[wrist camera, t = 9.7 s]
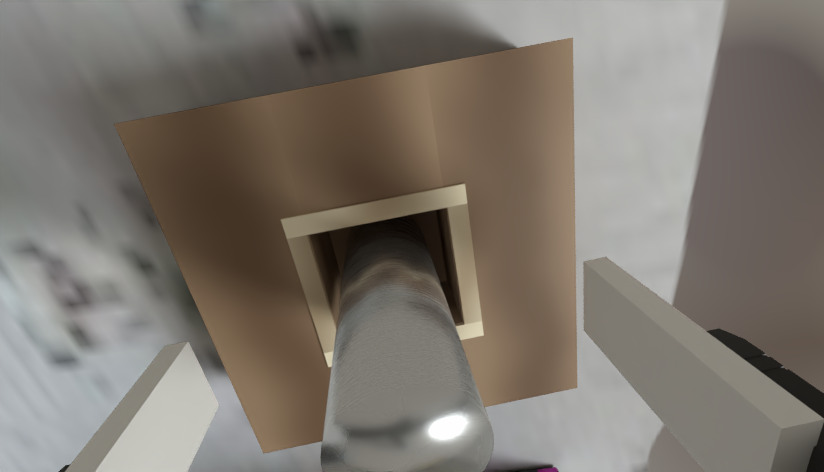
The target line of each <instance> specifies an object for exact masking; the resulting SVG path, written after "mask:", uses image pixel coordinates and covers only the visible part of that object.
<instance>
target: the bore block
mask: <svg viewBox="0 0 824 472" xmlns="http://www.w3.org/2000/svg"><path fill="white" fill-rule="evenodd" d="M114 125H115V127H116V129H117V131H118V134H119V136H120V138H121V140H122V142H123V145H124V147H125V149H126V151H127V154H128V156H129V158H130V160H131V162H132V165H133V167H134V169H135V171H136V173H137V176H138V178H139V180H140V182H141V184H142V187H143V189H144V191H145V193H146V195H147V198H148V200H149V202H150V204H151V206H152V209H153V211H154V213H155V215H156V217H157V220H158V222H159V224H160V226H161V228H162V231H163V233H164V235H165V237H166V239H167V242H168V244H169V246H170V248H171V250H172V253H173V255H174V257H175V259H176V261H177V264H178V266H179V268H180V270H181V272H182V275H183V277H184V279H185V281H186V284H187V286H188V288H189V290H190V292H191V295H192V297H193V299H194V301H195V303H196V306H197V308H198V310H199V312H200V314H201V317H202V319H203V321H204V323H205V325H206V328H207V330H208V332H209V334H210V336H211V339H212V341H213V343H214V345H215V347H216V350H217V352H218V354H219V356H220V358H221V361H222V363H223V365H224V367H225V369H226V372H227V374H228V376H229V378H230V380H231V383H232V385H233V387H234V389H235V391H236V394H237V396H238V398H239V400H240V402H241V405H242V407H243V409H244V411H245V414H246V416H247V418H248V420H249V422H250V425H251V427H252V429H253V431H254V433H255V436H256V438H257V440H258V442H259V444H260V447H261V449H262V451H263V453H268V452H272V451H277V450H282V449H287V448H292V447H296V446H301V445H306V444H311V443H315V442H320V441H322V439H323V431H324V423H325V415H326V407H327V399H328V391H329V383H330V375H331V367H332V359H333V351H334V343H335V335H336V327H337V319H338V311H339V303H340V295H341V287H342V279H343V271H344V263H345V255H346V247H347V239H348V235H349V233H350V231H351V229H352V227H353V226H357V225H362V224H367V223H372V222H377V221H383V220H388V219H393V218H398V217H403V216H409V217H411V218H412V219H413V220H414V221H415V222H416V223H417V224H418V226H419V227H420V229H421V231H422V234H423V236H424V239H425V242H426V245H427V248H428V250H429V253H430V256H431V259H432V262H433V264H434V267H435V270H436V273H437V276H438V278H439V281H440V284H441V287H442V290H443V292H444V295H445V298H446V301H447V304H448V306H449V309H450V312H451V315H452V318H453V320H454V323H455V326H456V329H457V332H458V334H459V337H460V340H461V343H462V346H463V348H464V351H465V354H466V357H467V360H468V362H469V365H470V368H471V371H472V374H473V376H474V379H475V382H476V385H477V388H478V390H479V393H480V396H481V399H482V402H483V404H484V407H487V406H492V405H497V404H502V403H506V402H511V401H516V400H521V399H526V398H530V397H535V396H540V395H545V394H549V393H554V392H559V391H564V390H569V389H573V388H577V328H576V251H575V174H574V96H573V38H568V39H563V40H557V41H552V42H547V43H541V44H536V45H531V46H525V47H520V48H515V49H509V50H504V51H499V52H494V53H488V54H483V55H478V56H472V57H467V58H462V59H456V60H451V61H446V62H440V63H435V64H430V65H424V66H419V67H414V68H408V69H403V70H398V71H392V72H387V73H382V74H376V75H371V76H366V77H360V78H355V79H350V80H344V81H339V82H334V83H329V84H323V85H318V86H313V87H307V88H302V89H297V90H291V91H286V92H281V93H275V94H270V95H265V96H259V97H254V98H249V99H243V100H238V101H233V102H227V103H222V104H217V105H211V106H206V107H201V108H195V109H190V110H185V111H180V112H174V113H169V114H164V115H158V116H153V117H148V118H142V119H137V120H132V121H126V122H121V123H116V124H114Z"/></svg>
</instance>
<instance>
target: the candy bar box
mask: <svg viewBox="0 0 824 472" xmlns="http://www.w3.org/2000/svg"><path fill="white" fill-rule="evenodd" d="M520 472H559V471H558V469H557V468H555V467H554V468H546V469H537V470H529V471H520Z"/></svg>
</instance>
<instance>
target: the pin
mask: <svg viewBox="0 0 824 472" xmlns="http://www.w3.org/2000/svg"><path fill="white" fill-rule="evenodd" d="M493 445H494V437H493V431H492V427H491V424H490V421H489V418H488V416H487V413H486V410H485V407H484V404H483V402H482V399H481V396H480V393H479V390H478V388H477V385H476V382H475V379H474V376H473V374H472V371H471V368H470V365H469V362H468V360H467V357H466V354H465V351H464V348H463V346H462V343H461V340H460V337H459V334H458V332H457V329H456V326H455V323H454V320H453V318H452V315H451V312H450V309H449V306H448V304H447V301H446V298H445V295H444V292H443V290H442V287H441V284H440V281H439V278H438V276H437V273H436V270H435V267H434V264H433V262H432V259H431V256H430V253H429V250H428V248H427V245H426V242H425V239H424V236H423V234H422V231H421V229H420V227H419V226H418V224H417V223H416V222H415V221H414V220H413V219H412V218H411V217H409V216H403V217H398V218H393V219H388V220H383V221H377V222H372V223H367V224H362V225H357V226H353V227H352V229H351V231H350V233H349V235H348V239H347V247H346V255H345V263H344V271H343V279H342V287H341V295H340V303H339V311H338V319H337V327H336V335H335V343H334V351H333V359H332V367H331V375H330V383H329V391H328V399H327V407H326V415H325V423H324V431H323V439H322V447H321V466H322V469H323V472H483V471H484V470H485V468H486V467H487V465H488V462H489V460H490V458H491V455H492V452H493Z"/></svg>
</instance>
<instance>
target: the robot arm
mask: <svg viewBox="0 0 824 472" xmlns="http://www.w3.org/2000/svg"><path fill="white" fill-rule="evenodd" d="M584 331H585V332H586V333H587V334H588V336H589V337H590V338H591V339H592V340H593V341H594V343H595V344H596V345H597V346H598V347H599V348H600V350H601V351H602V352H603V353H604V354H605V355H606V357H607V358H608V359H609V360H610V361H611V362H612V364H613V365H614V366H615V367H616V368H617V369H618V371H619V372H620V373H621V374H622V375H623V376H624V378H625V379H626V380H627V381H628V382H629V383H630V385H631V386H632V387H633V388H634V389H635V390H636V392H637V393H638V394H639V395H640V396H641V397H642V399H643V400H644V401H645V402H646V403H647V404H648V406H649V407H650V408H651V409H652V410H653V411H654V413H655V414H656V415H657V416H658V417H659V418H660V420H661V421H662V422H663V423H664V424H665V425H666V427H667V428H668V429H669V430H670V431H671V432H672V434H673V435H674V436H675V437H676V438H677V439H678V441H679V442H680V443H681V444H682V445H683V446H684V447H685V449H686V450H687V451H688V452H689V453H690V455H691V456H692V457H693V458H694V459H695V460H696V461H697V463H699V465H700V466H701V467H702V469H703V470H704V471H705V472H824V393H822V392H820V391H819V390H818V389H816V388H815V387H814V386H812V385H811V384H809V383H808V382H806V381H805V380H803V379H802V378H800V377H799V376H798V375H796V374H795V373H793V372H792V371H790V370H789V369H788V370H786V369H785V368H784V366H783V365H781V364H780V363H778V362H777V361H776V360H774V359H773V358H771V357H767V356H766V354H765V353H764V352H763V351H761V350H760V349H758V348H757V347H755V346H754V345H752V344H751V343H749V342H748V341H746V340H745V339H743V338H741V337H738V336H736V335H733V334H731V333H729V332H726V331H724V330H721V329H715V330H710V331H705V330H704V329H702V328H701V327H699V326H698V325H697V324H695V323H694V322H693V321H692V320H690V319H689V318H688V317H686V316H685V315H684V314H682V313H681V312H680V311H678V310H677V309H675V308H674V307H673V306H671V305H670V304H669V303H667V302H666V301H665V300H663V299H662V298H661V297H659V296H658V295H657V294H655V293H654V292H653V291H651V290H650V289H649V288H647V287H646V286H645V285H643V284H642V283H640V282H639V281H638V280H636V279H635V278H634V277H632V276H631V275H630V274H628V273H627V272H626V271H624V270H623V269H622V268H620V267H619V266H618V265H616V264H615V263H614V262H612V261H611V260H609V259H608V258H607V257H604V258H599V259H594V260H589V261H584ZM218 407H219V404H218V402H217V399H216V397H215V395H214V393H213V391H212V389H211V387H210V385H209V383H208V381H207V379H206V377H205V375H204V373H203V370H202V368H201V366H200V364H199V362H198V360H197V358H196V356H195V354H194V352H193V350H192V348H191V346H190V344H189V342H188V341H187V342H182V343H177V344H172V345H167V346H164V347H163V349H162V350H161V351H160V353H159V354H158V355H157V356H156V358H155V359H154V360H153V361H152V363H151V364H150V365H149V366H148V368H147V369H146V370H145V371H144V373H143V374H142V375H141V376H140V378H139V379H138V380H137V381H136V383H135V384H134V385H133V387H132V388H131V389H130V390H129V392H128V393H127V394H126V395H125V397H124V398H123V399H122V400H121V402H120V403H119V404H118V405H117V407H116V408H115V409H114V410H113V412H112V413H111V414H110V416H109V417H108V418H107V419H106V421H105V422H104V423H103V424H102V426H101V427H100V428H99V429H98V431H97V432H96V433H95V434H94V436H93V437H92V438H91V439H90V441H89V442H88V443H87V444H86V446H85V447H84V448H83V450H82V451H81V452H80V453H79V455H78V456H77V457H76V458H75V460H74V461H73V462H72V463H71V464H70V465H66V466H65V467H63V468H62V469H61V470H60V471H59V472H188V469H189V467H190V465H191V463H192V461H193V459H194V457H195V455H196V453H197V451H198V449H199V446H200V444H201V442H202V440H203V438H204V436H205V434H206V432H207V430H208V428H209V426H210V423H211V421H212V419H213V417H214V415H215V413H216V411H217V409H218Z"/></svg>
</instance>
